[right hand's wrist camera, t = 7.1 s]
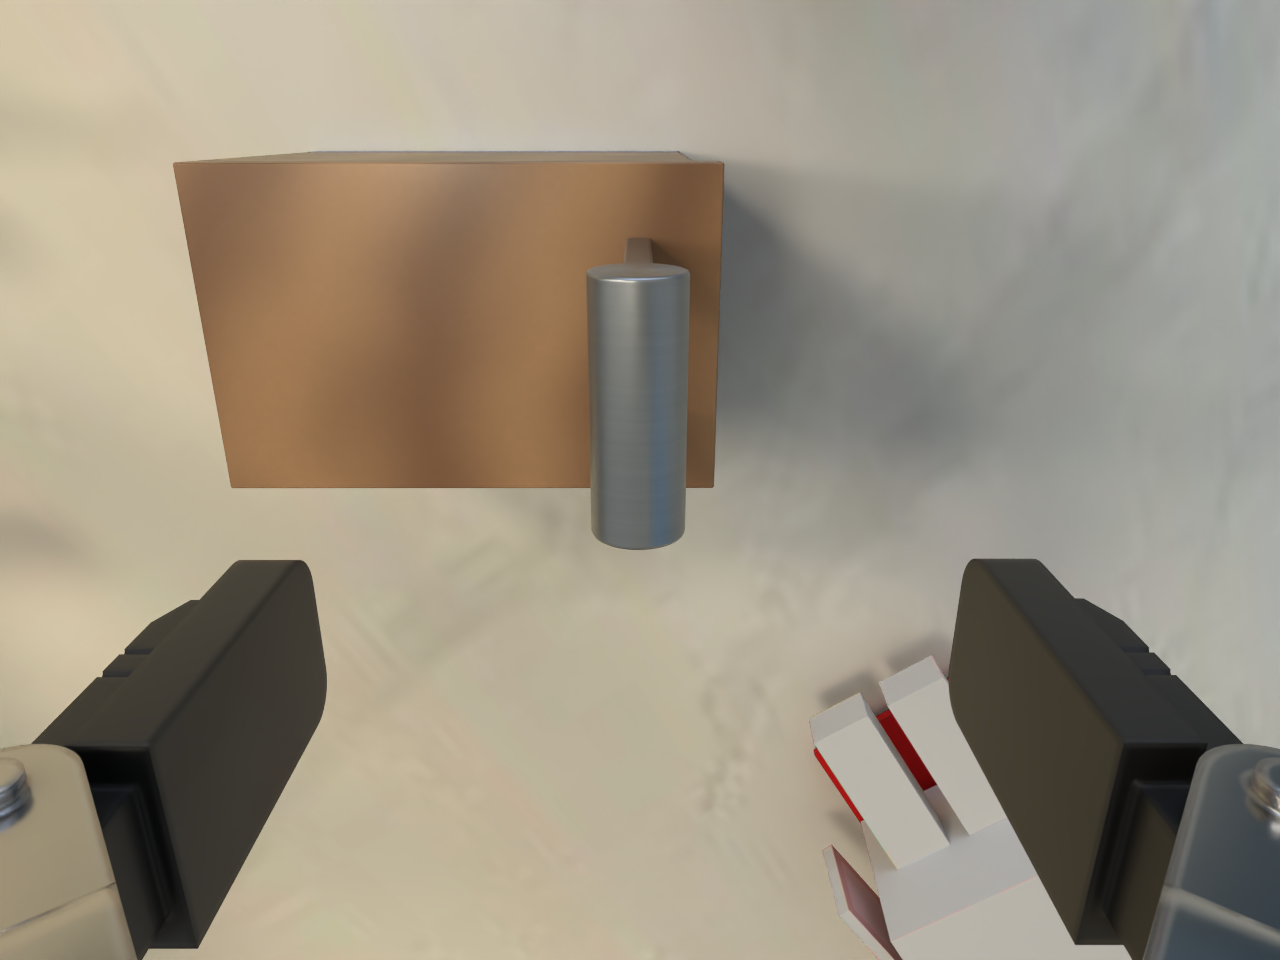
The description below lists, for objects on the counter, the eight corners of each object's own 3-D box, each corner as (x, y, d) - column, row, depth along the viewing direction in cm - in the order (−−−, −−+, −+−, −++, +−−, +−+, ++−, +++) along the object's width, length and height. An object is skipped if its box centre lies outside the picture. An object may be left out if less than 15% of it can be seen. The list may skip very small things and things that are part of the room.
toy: (1040, 700, 33) (1362, 1242, 39) (949, 572, 46) (1200, 991, 51) (758, 838, 36) (1097, 1330, 41) (747, 680, 49) (1006, 1070, 54)
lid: (720, 160, 26) (763, 178, 17) (710, 474, 29) (742, 624, 20) (193, 161, 25) (-42, 178, 17) (247, 474, 29) (76, 624, 20)
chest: (678, 151, 35) (694, 160, 26) (675, 385, 39) (687, 473, 29) (317, 151, 35) (193, 160, 26) (346, 385, 39) (247, 474, 29)
